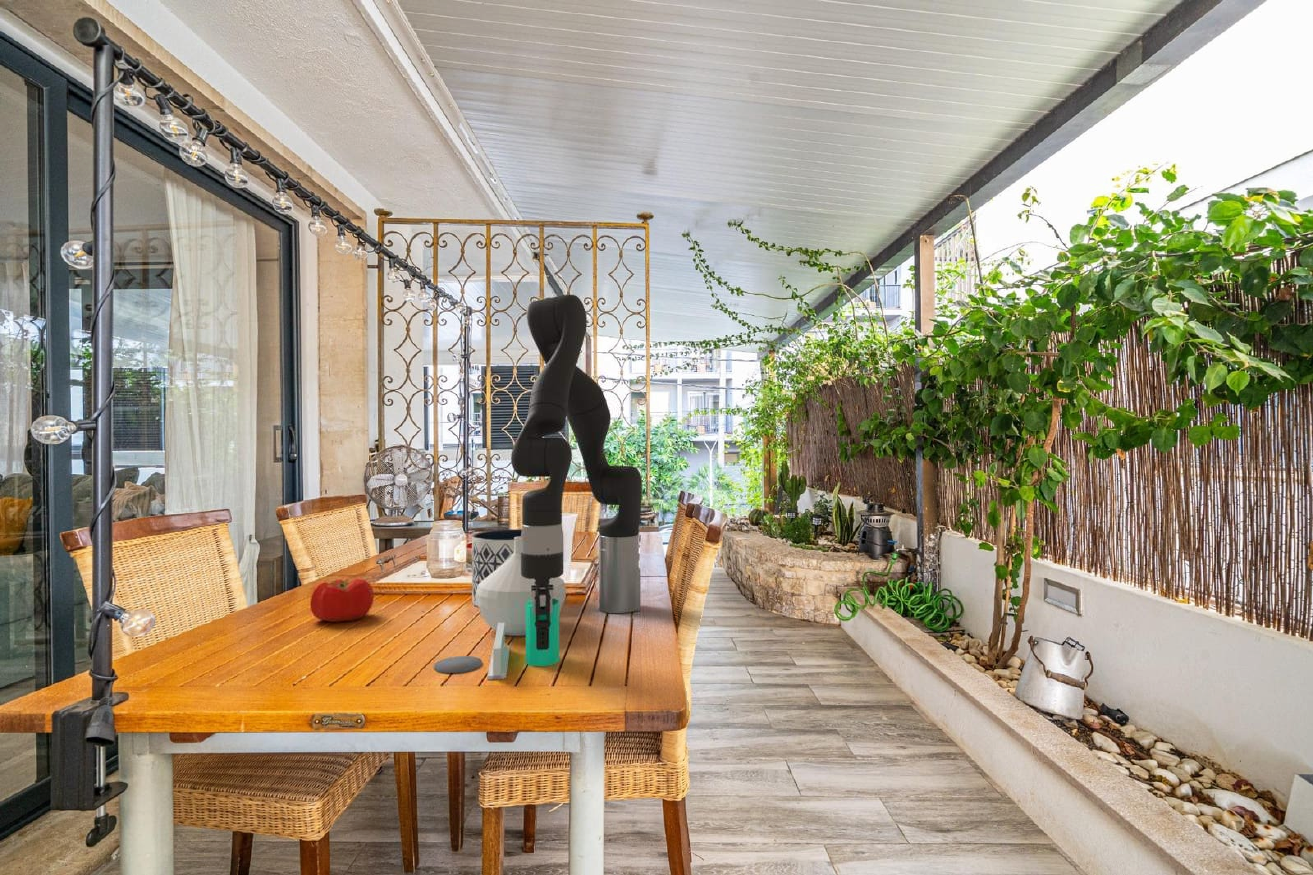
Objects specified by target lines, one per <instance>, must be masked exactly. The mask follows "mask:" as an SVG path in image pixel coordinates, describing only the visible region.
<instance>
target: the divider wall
mask: <svg viewBox="0 0 1313 875" xmlns="http://www.w3.org/2000/svg"><path fill="white" fill-rule="evenodd" d="M505 636H506V635H505V623H498V626H497V631H495V636H494V637H495V638H494V641H493V642H494V644H493V647H492V651H491V655H490V661H489V666H488V667H489V668H488V670H487V680H501V679H502V680H505V679H507V674H508V666H509V657H510V645H506V644H505V641H506V639H505ZM504 678H505V679H504Z"/></svg>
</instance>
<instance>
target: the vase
mask: <svg viewBox="0 0 1313 875" xmlns="http://www.w3.org/2000/svg"><path fill="white" fill-rule="evenodd" d="M535 581H536V580H535V579H527V578H524V577H523V576H522V575H521V536H520V537H514V553H513V554H512V555H511V557H510V558H509V559H508V560H507V561H506V562H505V563H503V564H502V565H501V566H500V567H499V568H498V569H496V570H495V571H494V572H493V573H491V574H490V575H489V576H488V577H486V578H485V579H484V580H483V581H481V582H480V583H479V585H478V587H477V590H476V602H477V605H478V606H477V608H478V610H479V613H480V615H481V618H482V620H483V621H485V623H486V624H487V625H488V626H489V627H490V628H491V629H493V630H494V631H495V632H496V631H497V626H498V623H505V636H511V637H521V636H522V637H526V603H527V602H528V601H530V600H533V599H532V598H531V585H536V584H535ZM549 584H553V587H554V596H553V598H554V599H557V600H559V615H560V614H561V612H562V609H563V606H564V603H565V600H566V598H567V586H566V584H565V581H564V579H563V578H561V576H560V577H557V578H551V579H550V580H549Z"/></svg>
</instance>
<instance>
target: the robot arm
mask: <svg viewBox="0 0 1313 875" xmlns="http://www.w3.org/2000/svg"><path fill="white" fill-rule="evenodd" d="M587 319H588V318H587V311H586V308H585V305H584V303H583V302H582V300H581V299H580V298H579V296H577V295H575V294H562V295H559V296H554V297H548V298H543V299H539V300H535V301H532V302H531V303H529V304H528V306H527V308H526V321H527V326H528V328H529V332H530V335H531V337H532V339H533V341H534V343H535V346H536V348H537V349H538V351H539V353H540V355H541V357H542V359H543V362H544V363H545V366H544V367H543V369H542V370H541V371H540V372H539V374H538V375H537V377H536V380H535V381H534V383H533V385H532V389H531V391H530V392H531V394H530V398H529V406H528V412H527V416H526V419H525V421H524V424H523V425H522V428H521V431H520V432H519V434H518V436H517V438H516V440H515V442H514V444H513V447H512V451H511V456H510V462H511V467H512V468H513V471H514V472H515V473H516V475H518V476H521V477H523V478H524V477H526V478H529V477H530V478H531V477H532V478H539V477H541V478H542V477H543V478H544V477H545V478H549V481H548V484H547V485H546V486H545V487H543V488H539V489H534V490H528V491H526V492H525V493H524V494H523V496H522V500H521V507H522V508H521V514H522V515H521V516H522V517H521V521H522V522H521V524H522V526H521V529H522V532H521V575H522V576H523V577H524V578H527V579H535V580H536V581H535V584H536V585H531V598H532V599H533V614H534V615H535V616H536V623H535V626H536V648H537V650H547V649H548V648H549V628H550V626H551V622H550V614H551V613H552V598H553V596H554V587H553V584H549V580H550V579H551V578H557V577H560V578H561V576H563V575H564V531H563V496H564V490H565V485H566V481H567V477H568V474H569V471H570V467H571V463H572V461H573V460H572V458H573V451H572V447H571V445H570V443H569V442H568V441H567V440H566V439H564V438H563V437H547V436H550V435H555V434H558V433H560V432H562V431H563V430H564V428H565V425H566V422H567V421H568V424H569V426H570V428H571V431H572V433H573V436H574V438H575V441H576V444H577V446H578V449H579V452H580V455H581V458H582V462H583V466H584V469H585V472H586V473H585V474H586V477H587V480H588V484H589V488H590V490H591V492H592V495H593V497H594V499H595V500H596V501H597V503H599V504H600V505H601V504H602V505H605V506H606V505H607V506H618V509H617V513H616V515H614V516H613V517H612V518H609V519H605V520H602V521H601V522H600V523H599V525H598V534H599V535H598V548H599V549H598V566H599V567H598V572H599V574H598V580H599V581H598V593H599V594H598V597H599V599H598V605H599V606H598V607H599V610H600V611H601V612H604V613H608V614H627V613H633V612H638V611H641V610H642V609H641V604H642V603H641V602H642V601H641V600H642V599H641V598H642V597H641V596H642V595H641V594H642V593H641V582H642V581H641V580H642V579H641V568H640V559H639V558H640V553H639V552H640V548H639V546H640V543H639V541H640V539H639V538H640V535H639V534H640V531H639V530H640V525H641V519H642V518H641V517H642V516H641V515H642V499H643V498H642V496H643V481H642V476H641V473H640V470H639V469H638V468H637V467H636V466H633V465H611V464H610V463H609V462H608V460H607V458H606V454H605V450H604V449H605V448H604V446H605V441H606V438H607V436H608V432H609V429H610V427H611V426H610V425H611V412H610V411H611V410H610V408H609V406H608V403H607V400H606V398H605V394H604V392H603V391H604V390H602V387H601V386H600V385H599V384H598V382H596V381H595V380H594V379H593V378H592V377H591V376H589V375H588V374H587V373H586V372H585V371H583V369H581V368H580V367H579V366H577V364H578V361H579V357H580V354H581V351H582V347H583V344H584V341H585V338H586V334H587V333H586V332H587V327H588V326H587V325H588V324H587V323H588V320H587ZM535 606H536V608H535ZM539 615H547V620H539V621H538V616H539Z"/></svg>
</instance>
